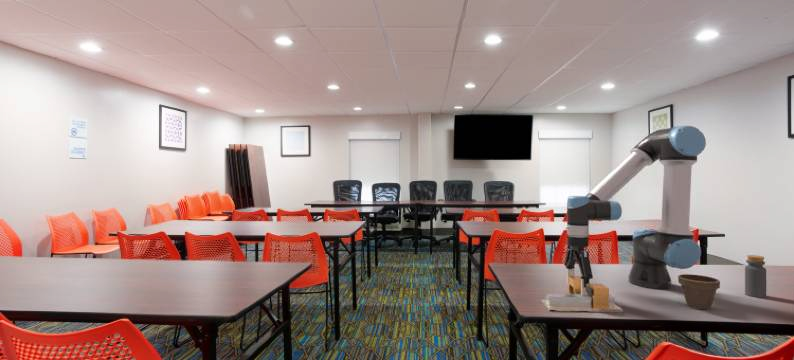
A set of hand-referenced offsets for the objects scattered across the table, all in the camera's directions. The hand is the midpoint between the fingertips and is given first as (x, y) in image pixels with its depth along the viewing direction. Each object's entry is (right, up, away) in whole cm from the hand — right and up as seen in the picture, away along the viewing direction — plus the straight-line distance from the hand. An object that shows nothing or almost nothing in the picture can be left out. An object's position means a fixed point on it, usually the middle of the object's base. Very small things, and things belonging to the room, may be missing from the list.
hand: (577, 290), depth 144 cm
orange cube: (0, -2, 0) cm, 2 cm away
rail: (-6, -2, -14) cm, 15 cm away
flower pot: (+36, -2, -14) cm, 38 cm away
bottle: (+66, -1, -3) cm, 66 cm away
